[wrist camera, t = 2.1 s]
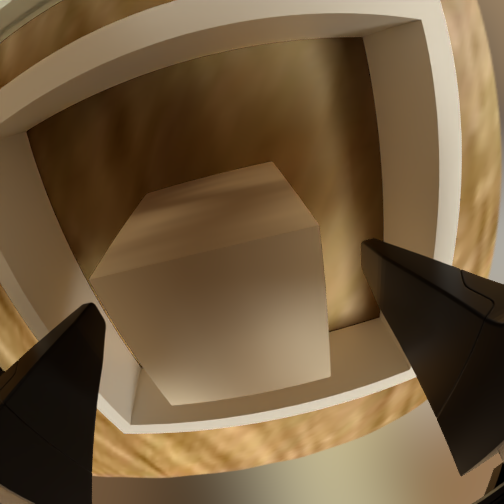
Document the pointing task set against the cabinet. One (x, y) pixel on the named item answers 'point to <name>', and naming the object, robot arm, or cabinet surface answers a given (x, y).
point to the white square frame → (203, 44)
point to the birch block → (220, 287)
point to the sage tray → (20, 13)
